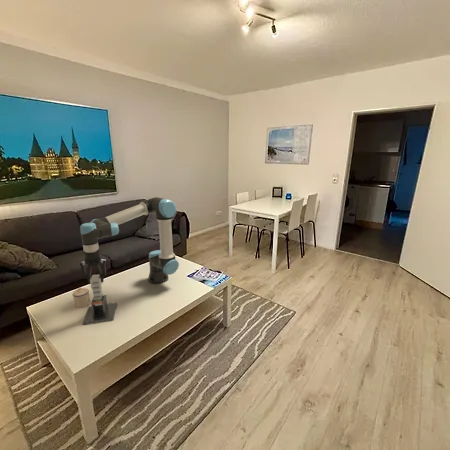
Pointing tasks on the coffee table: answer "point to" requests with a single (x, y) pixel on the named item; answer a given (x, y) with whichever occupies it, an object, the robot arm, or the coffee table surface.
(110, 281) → the coffee table surface
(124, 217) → the robot arm
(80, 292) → the teacup with lid
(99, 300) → the column
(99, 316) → the stand base
